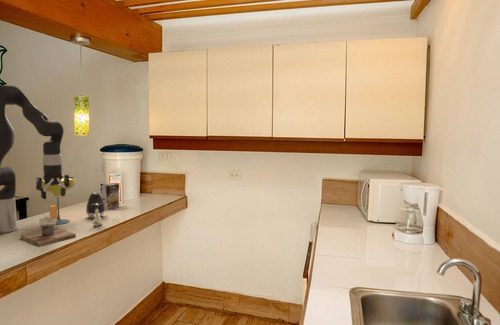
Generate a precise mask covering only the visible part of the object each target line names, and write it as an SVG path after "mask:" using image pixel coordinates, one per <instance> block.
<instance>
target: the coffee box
mask: <svg viewBox="0 0 500 325" xmlns="http://www.w3.org/2000/svg"><path fill="white" fill-rule="evenodd" d="M101 198H102V200H103V203H104V208H105V211H106V210H107V211H109V210H114V209H118V208H120V184H118V183H105V184H101Z"/></svg>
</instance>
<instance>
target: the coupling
mask: <svg viewBox="0 0 500 325" xmlns="http://www.w3.org/2000/svg"><path fill="white" fill-rule="evenodd" d="M48 207H49V210H48V211H49V215H44V217H41V218H39V219H38V220H39V227H40V228H42V227H50V226H54V227H55V226H57V225H56V222H57V217H58V206H57V204H55V205H49V206H48Z"/></svg>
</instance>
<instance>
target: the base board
mask: <svg viewBox="0 0 500 325" xmlns="http://www.w3.org/2000/svg"><path fill="white" fill-rule="evenodd" d="M76 235H77V234H76V233H74V232H71V231H68V230H65V229H62V228H59V227H55V225H54V226H50V227H41V230H39V231H38V230H37V231H34V232H30V233H25V234H21V235H19V236H20V239H21V240H23V241H26V242H29V243H31V244H33V245H36V246H38V247H42V246H45V245H49V244H55V243H58V242H62V241H65V240H69V239H73V238H76Z"/></svg>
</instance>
